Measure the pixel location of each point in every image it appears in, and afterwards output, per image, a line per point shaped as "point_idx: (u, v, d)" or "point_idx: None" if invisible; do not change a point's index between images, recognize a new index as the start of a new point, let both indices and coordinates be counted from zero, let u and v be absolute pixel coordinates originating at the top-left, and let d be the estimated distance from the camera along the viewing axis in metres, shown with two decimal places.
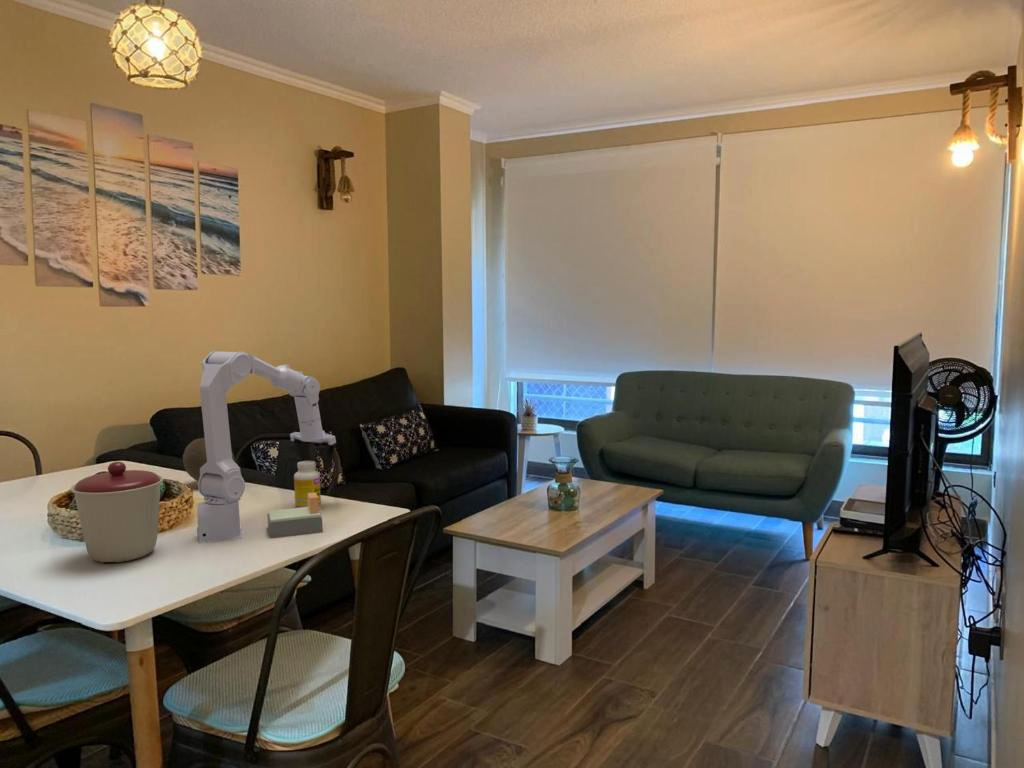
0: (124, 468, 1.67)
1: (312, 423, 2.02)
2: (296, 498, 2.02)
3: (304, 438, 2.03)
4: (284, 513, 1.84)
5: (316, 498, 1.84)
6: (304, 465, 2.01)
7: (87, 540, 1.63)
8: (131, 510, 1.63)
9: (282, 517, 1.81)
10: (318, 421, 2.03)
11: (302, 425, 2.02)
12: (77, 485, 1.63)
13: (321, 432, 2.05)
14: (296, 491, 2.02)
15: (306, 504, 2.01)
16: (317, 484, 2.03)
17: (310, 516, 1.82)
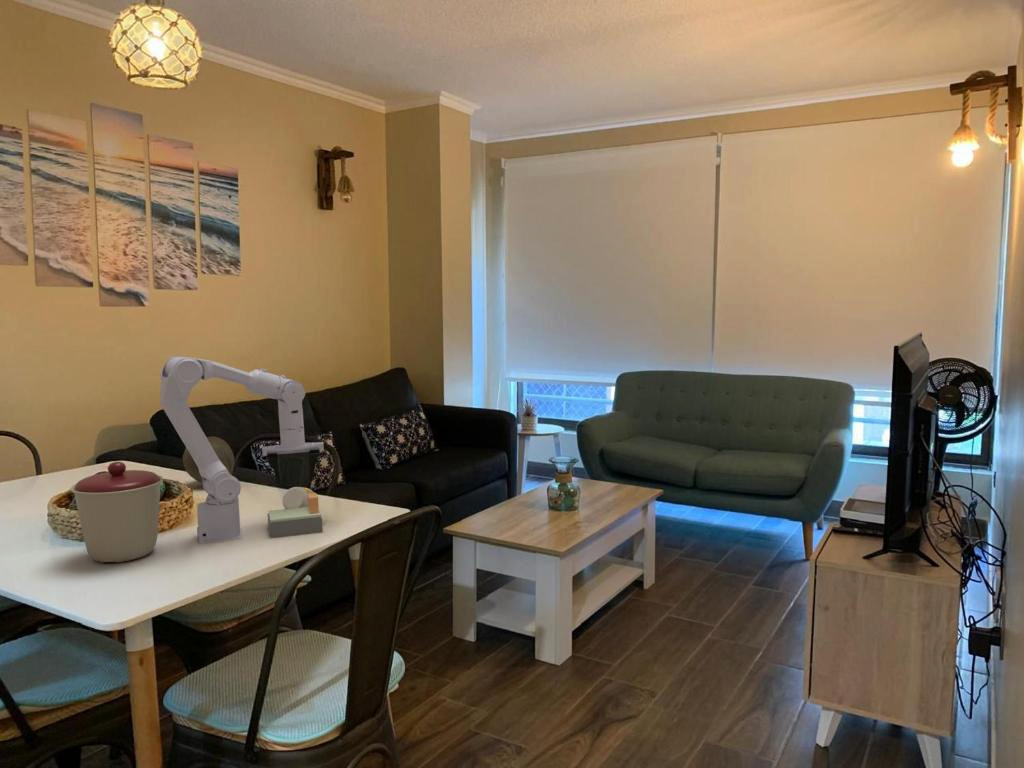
0: (124, 468, 1.67)
1: (301, 429, 1.88)
2: None
3: (292, 447, 1.87)
4: (284, 513, 1.84)
5: (316, 498, 1.84)
6: None
7: (87, 540, 1.63)
8: (131, 510, 1.63)
9: (282, 517, 1.81)
10: (303, 428, 1.90)
11: (291, 432, 1.87)
12: (77, 485, 1.63)
13: None
14: None
15: None
16: None
17: (310, 516, 1.82)
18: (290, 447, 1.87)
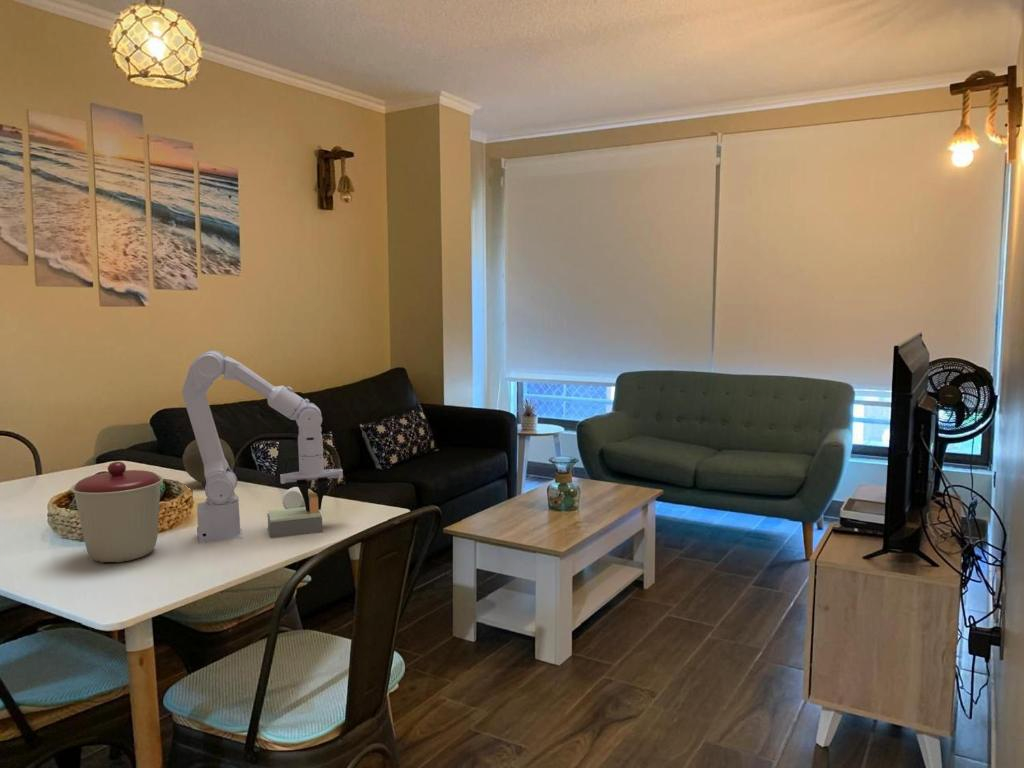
0: (124, 468, 1.67)
1: (321, 456, 1.84)
2: None
3: (313, 474, 1.82)
4: (284, 513, 1.84)
5: (316, 498, 1.84)
6: None
7: (87, 540, 1.63)
8: (131, 510, 1.63)
9: (282, 517, 1.81)
10: None
11: (312, 459, 1.82)
12: (77, 485, 1.63)
13: None
14: None
15: None
16: None
17: (310, 516, 1.82)
18: (310, 474, 1.82)
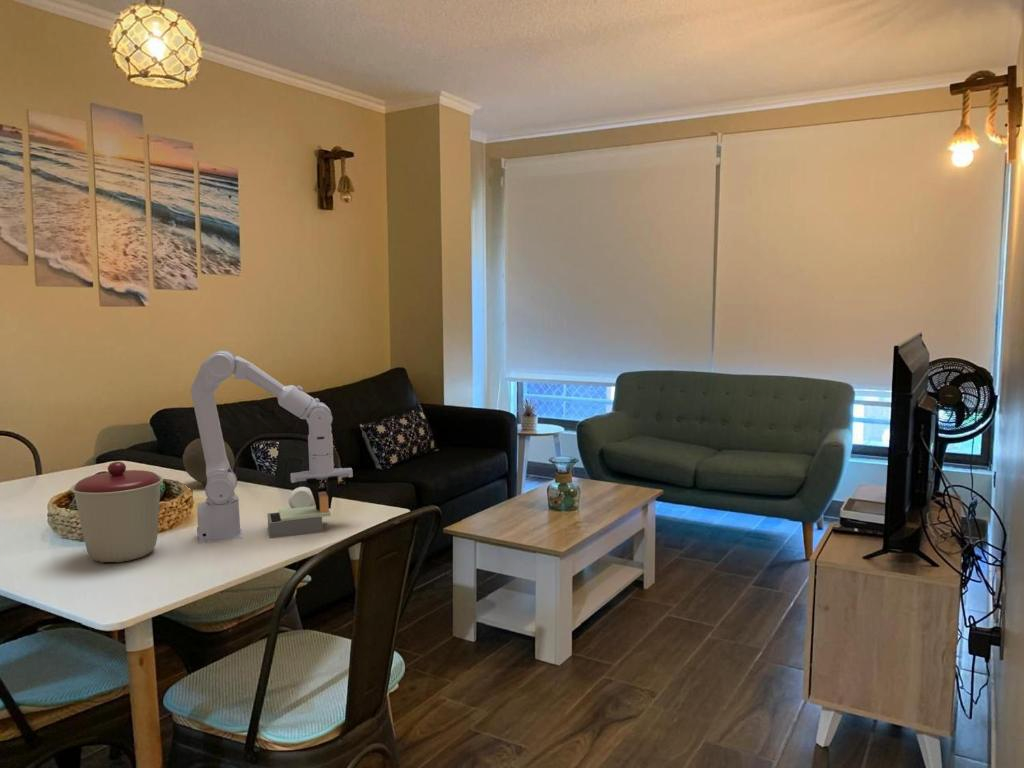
0: (124, 468, 1.67)
1: (331, 455, 1.85)
2: None
3: (323, 473, 1.83)
4: (294, 512, 1.85)
5: (326, 497, 1.85)
6: None
7: (87, 540, 1.63)
8: (131, 510, 1.63)
9: (292, 516, 1.81)
10: None
11: (322, 458, 1.83)
12: (77, 485, 1.63)
13: None
14: None
15: None
16: None
17: (320, 515, 1.83)
18: (321, 473, 1.83)
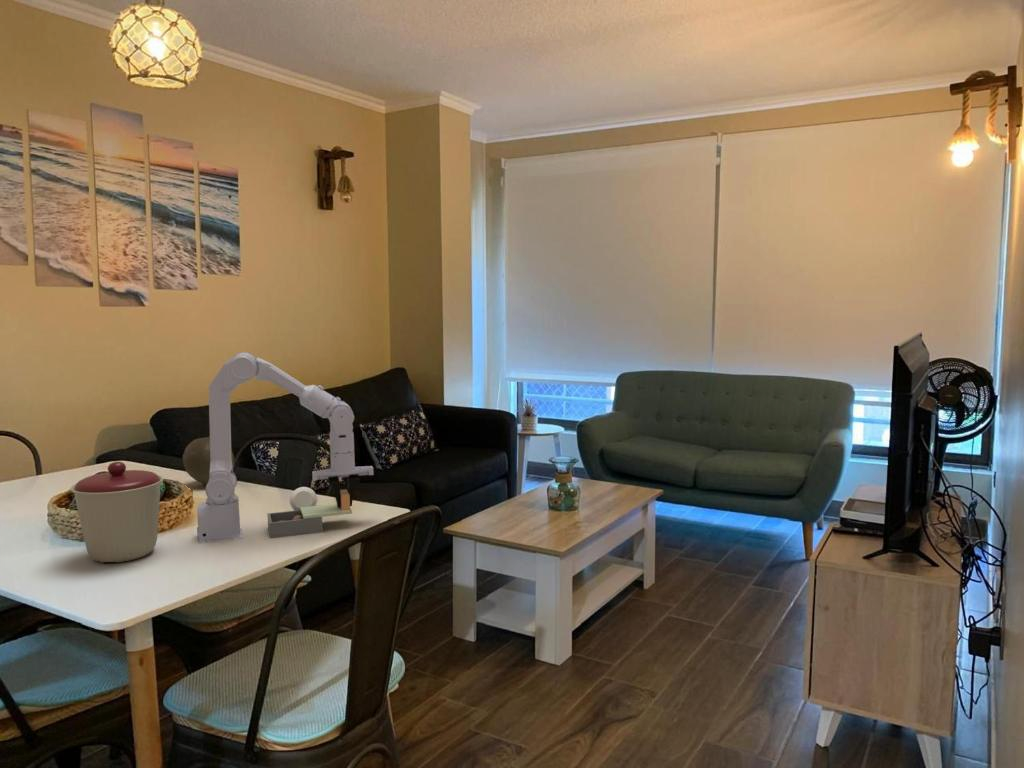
0: (124, 468, 1.67)
1: (353, 453, 1.87)
2: None
3: (344, 471, 1.85)
4: (316, 510, 1.87)
5: (347, 495, 1.86)
6: None
7: (87, 540, 1.63)
8: (131, 510, 1.63)
9: (314, 513, 1.83)
10: None
11: (344, 456, 1.85)
12: (77, 485, 1.63)
13: None
14: None
15: None
16: None
17: (342, 512, 1.85)
18: (342, 471, 1.85)
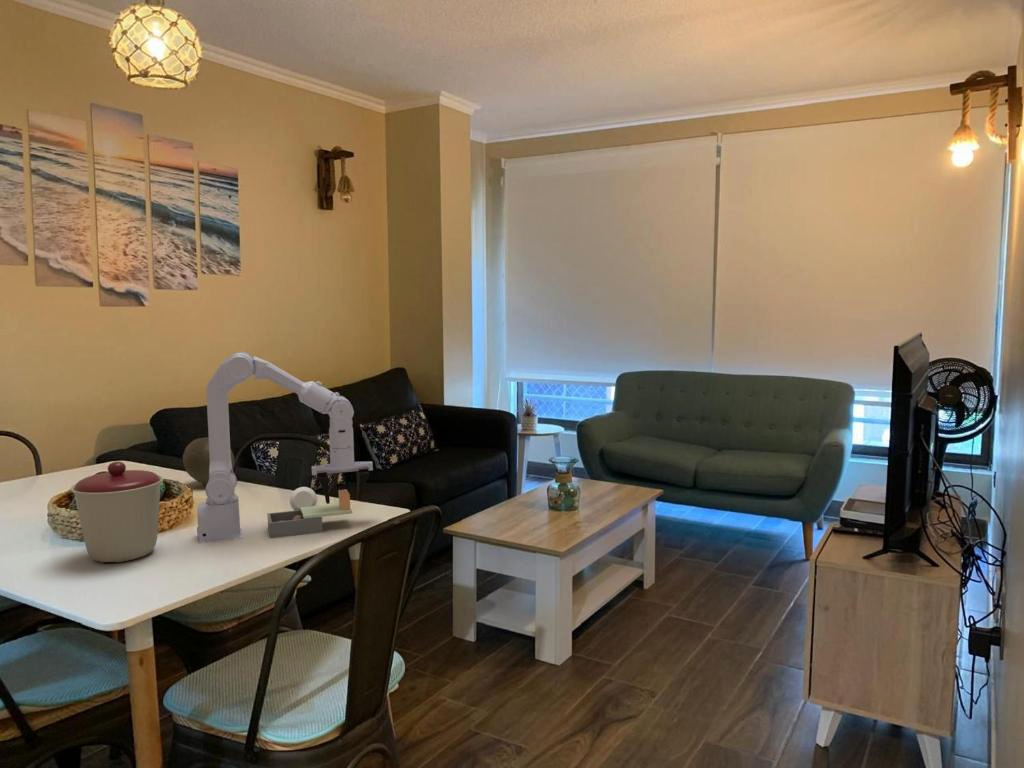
0: (124, 468, 1.67)
1: (352, 449, 1.87)
2: None
3: (344, 466, 1.85)
4: (316, 510, 1.87)
5: (348, 495, 1.86)
6: None
7: (87, 540, 1.63)
8: (131, 510, 1.63)
9: (315, 513, 1.83)
10: None
11: (343, 451, 1.85)
12: (77, 485, 1.63)
13: None
14: None
15: None
16: None
17: (342, 512, 1.85)
18: (342, 466, 1.85)
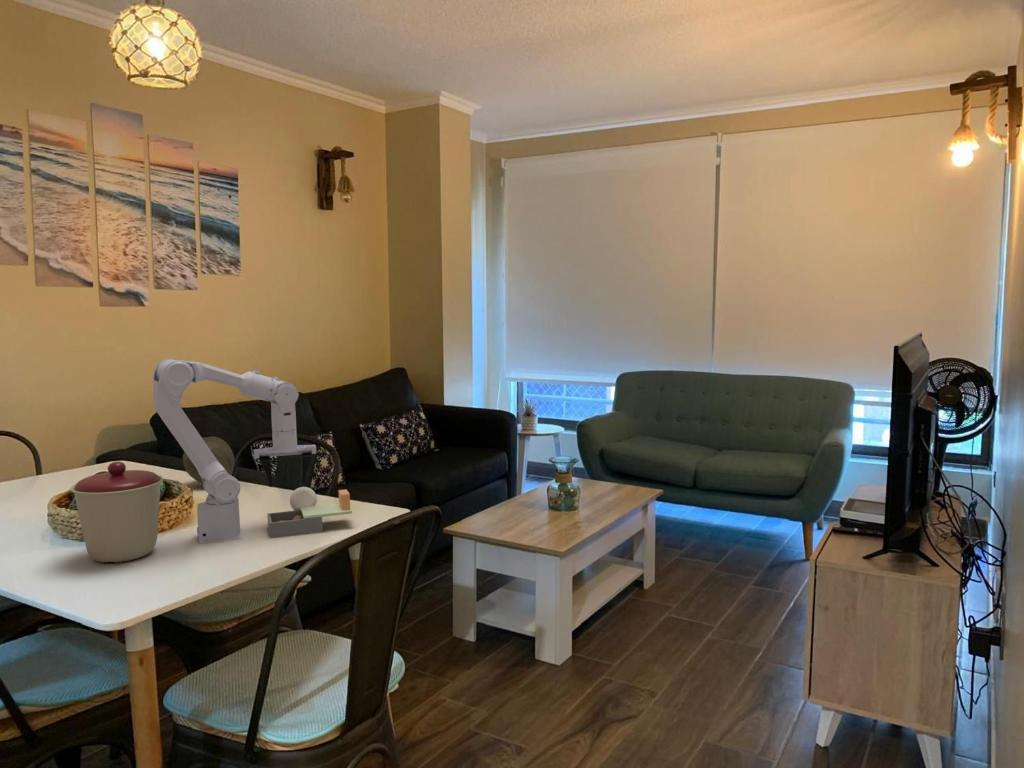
0: (124, 468, 1.67)
1: (295, 432, 1.87)
2: None
3: (286, 449, 1.86)
4: (316, 510, 1.87)
5: (348, 495, 1.86)
6: None
7: (87, 540, 1.63)
8: (131, 510, 1.63)
9: (315, 513, 1.83)
10: None
11: (285, 434, 1.85)
12: (77, 485, 1.63)
13: None
14: None
15: None
16: None
17: (342, 512, 1.85)
18: (284, 449, 1.85)
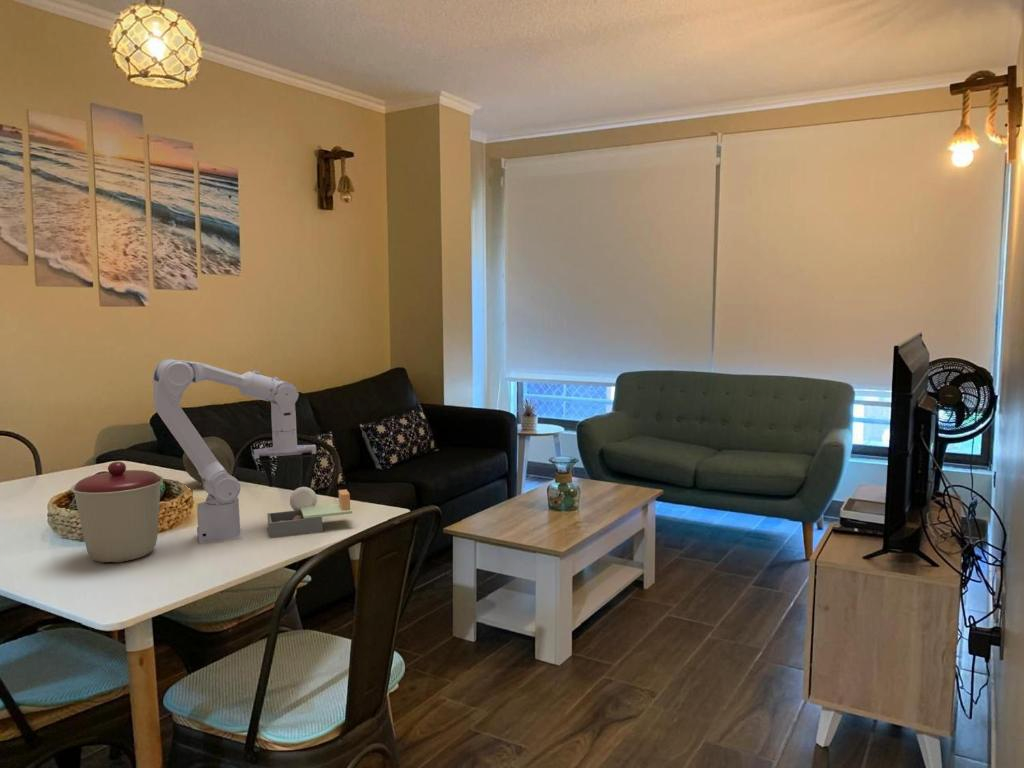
0: (124, 468, 1.67)
1: (295, 432, 1.87)
2: None
3: (286, 449, 1.86)
4: (316, 510, 1.87)
5: (348, 495, 1.86)
6: None
7: (87, 540, 1.63)
8: (132, 510, 1.63)
9: (315, 513, 1.83)
10: None
11: (285, 434, 1.85)
12: (77, 485, 1.63)
13: None
14: None
15: None
16: None
17: (342, 512, 1.85)
18: (284, 449, 1.85)
